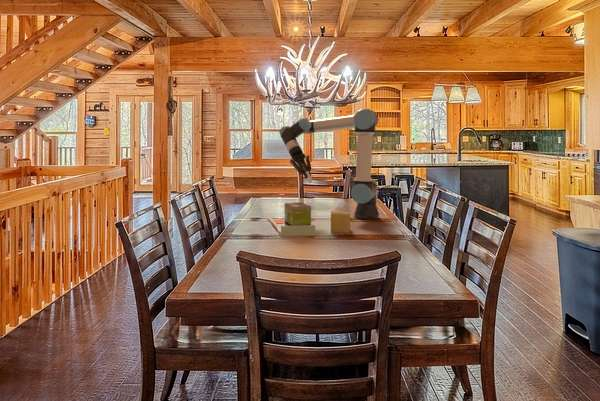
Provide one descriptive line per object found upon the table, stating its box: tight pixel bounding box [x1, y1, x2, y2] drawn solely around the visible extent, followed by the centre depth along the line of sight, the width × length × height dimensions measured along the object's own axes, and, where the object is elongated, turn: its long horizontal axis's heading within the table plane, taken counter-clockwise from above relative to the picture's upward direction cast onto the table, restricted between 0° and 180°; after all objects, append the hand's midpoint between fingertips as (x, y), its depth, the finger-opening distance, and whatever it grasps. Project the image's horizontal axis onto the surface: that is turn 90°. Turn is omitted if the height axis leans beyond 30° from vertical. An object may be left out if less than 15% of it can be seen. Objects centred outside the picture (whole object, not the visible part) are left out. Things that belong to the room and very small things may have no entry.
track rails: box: [267, 217, 281, 231], centre depth 287 cm, size 17×38×2 cm, turn 11°
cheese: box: [330, 210, 351, 234], centre depth 269 cm, size 10×11×10 cm
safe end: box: [276, 224, 316, 237], centre depth 262 cm, size 17×14×5 cm
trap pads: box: [272, 218, 285, 225], centre depth 299 cm, size 13×13×1 cm
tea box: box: [284, 202, 312, 226], centre depth 264 cm, size 15×10×15 cm
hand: (310, 181), depth 299 cm, fingers closed
